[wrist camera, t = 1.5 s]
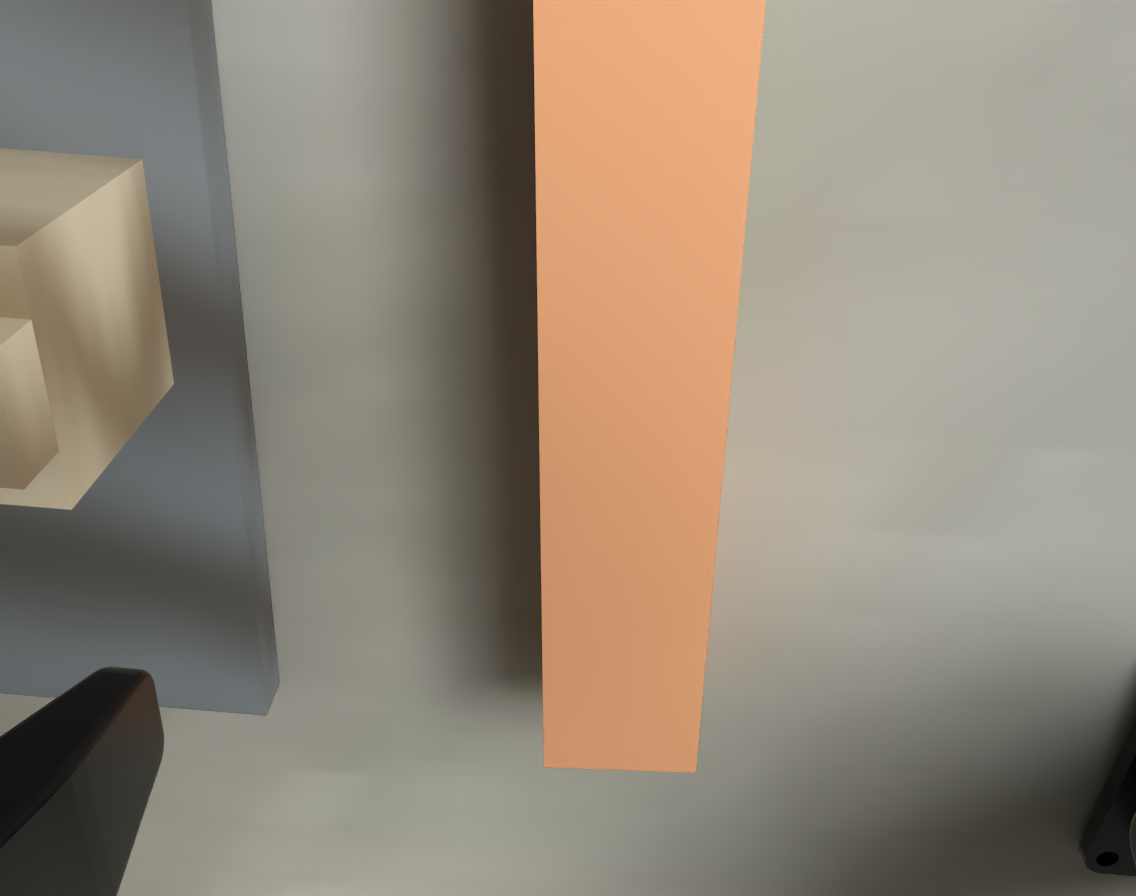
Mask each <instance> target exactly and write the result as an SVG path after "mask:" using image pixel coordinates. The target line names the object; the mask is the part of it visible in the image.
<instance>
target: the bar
mask: <svg viewBox="0 0 1136 896" xmlns="http://www.w3.org/2000/svg"><path fill="white" fill-rule="evenodd" d="M765 5H766V0H533V22H534V94H535V167H536V239H537V311H538V384H539V456H540V528H541V600H542V673H543V745H544V767H555V768H581V769H608V770H634V771H661V772H687V773H696V765H697V754H698V743H699V732H700V721H701V710H702V699H703V688H704V677H705V666H706V655H707V644H708V633H709V622H710V611H711V600H712V589H713V578H714V567H715V556H716V545H717V534H718V523H719V512H720V501H721V490H722V479H723V468H724V457H725V446H726V435H727V424H728V413H729V402H730V391H731V380H732V369H733V358H734V347H735V336H736V325H737V314H738V303H739V292H740V281H741V270H742V259H743V248H744V237H745V226H746V214H747V203H748V192H749V181H750V170H751V159H752V148H753V137H754V126H755V115H756V104H757V93H758V82H759V71H760V60H761V49H762V38H763V27H764V16H765Z"/></svg>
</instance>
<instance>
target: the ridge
mask: <svg viewBox="0 0 1136 896" xmlns="http://www.w3.org/2000/svg"><path fill="white" fill-rule="evenodd" d="M104 667H120V668H132V669H142V670H145V671H148V672H149V673H150V674H151V676H152V677H153V680H154V683H155V688H156V693H157V699H158V704H159V707H170V708H182V709H193V710H205V711H217V712H229V713H241V714H253V715H265V716H266V715H267V713H268V711H269V708H270V706H271V703H272V701H273V698H274V696H275V693H276V691H277V688H278V686H279V683H280V682H279V672H278V662H277V653H276V643H275V633H274V623H273V613H272V603H271V593H270V583H269V573H268V563H267V553H266V543H265V533H264V523H263V513H262V503H261V493H260V483H259V473H258V463H257V453H256V443H255V433H254V423H253V413H252V403H251V394H250V384H249V374H248V364H247V354H246V344H245V334H244V324H243V314H242V304H241V294H240V284H239V274H238V264H237V254H236V244H235V234H234V224H233V214H232V204H231V194H230V184H229V174H228V164H227V154H226V144H225V135H224V125H223V115H222V105H221V95H220V85H219V75H218V65H217V55H216V45H215V35H214V25H213V15H212V5H211V0H0V693H4V694H16V695H27V696H39V697H51V698H57V697H59V696H60V695H62V694H63V693H64V692H66V691H67V690H69V689H70V688H72V687H73V686H75V685H76V684H78V683H79V682H80V681H82V680H83V679H85V678H86V677H88V676H89V675H91V674H92V673H93V672H95V671H97V670H99V669H101V668H104Z"/></svg>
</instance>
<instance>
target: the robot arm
mask: <svg viewBox="0 0 1136 896" xmlns="http://www.w3.org/2000/svg"><path fill="white" fill-rule="evenodd" d="M163 749H164V732H163V727H162V721H161V716H160V710H159V704H158V699H157V693H156V688H155V683H154V680H153V677H152V676H151V674H150V673H149V672H148V671H145V670H142V669H132V668H120V667H104V668H101V669H99V670H97V671H95V672H93V673H92V674H91V675H89V676H88V677H86V678H85V679H83V680H82V681H80V682H79V683H78V684H76V685H75V686H73V687H72V688H70V689H69V690H67V691H66V692H64V693H63V694H62V695H60V696H59V697H57V698H56V699H54V700H53V701H51V702H50V703H48V704H47V705H46V706H44V707H43V708H41V709H40V710H38V711H37V712H35V713H34V714H32V715H31V716H30V717H28V718H27V719H25V720H24V721H22V722H21V723H19V724H18V725H17V726H15V727H14V728H12V729H11V730H9V731H8V732H6V733H5V734H3V735H2V736H1V737H0V896H117V893H118V890H119V887H120V884H121V881H122V878H123V875H124V872H125V869H126V866H127V863H128V860H129V857H130V854H131V851H132V848H133V845H134V842H135V839H136V836H137V833H138V830H139V827H140V824H141V821H142V818H143V815H144V812H145V809H146V806H147V803H148V800H149V797H150V794H151V791H152V788H153V785H154V782H155V779H156V776H157V773H158V770H159V767H160V763H161V760H162V755H163ZM1079 850H1080V853H1081V855H1082V857H1083V859H1084V862H1085V864H1086V866H1087V868H1089V869H1090V870H1092V871H1094V872H1098V873H1106V874H1118V875H1130V876H1136V725H1135V727H1134V729H1133V731H1132V733H1131V735H1130V737H1129V739H1128V742H1127V744H1126V746H1125V748H1124V750H1123V752H1122V754H1121V756H1120V758H1119V761H1118V763H1117V765H1116V767H1115V769H1114V771H1113V773H1112V775H1111V777H1110V780H1109V782H1108V784H1107V786H1106V788H1105V790H1104V792H1103V794H1102V796H1101V799H1100V801H1099V803H1098V805H1097V807H1096V809H1095V811H1094V813H1093V815H1092V818H1091V820H1090V822H1089V824H1088V826H1087V828H1086V830H1085V832H1084V835H1083V837H1082V839H1081V841H1080V843H1079Z"/></svg>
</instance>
